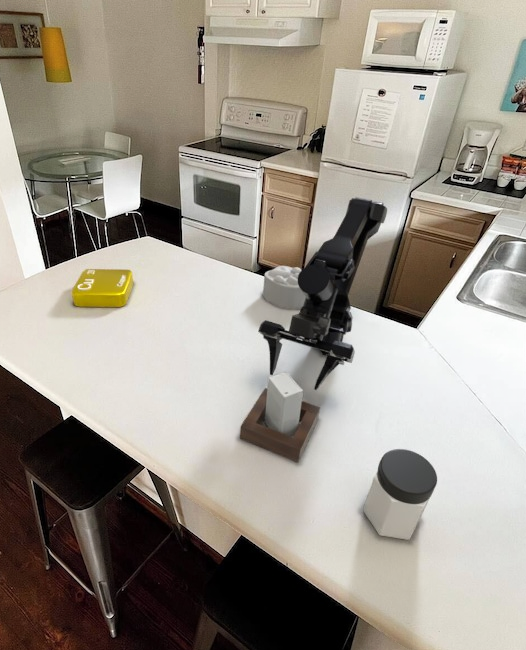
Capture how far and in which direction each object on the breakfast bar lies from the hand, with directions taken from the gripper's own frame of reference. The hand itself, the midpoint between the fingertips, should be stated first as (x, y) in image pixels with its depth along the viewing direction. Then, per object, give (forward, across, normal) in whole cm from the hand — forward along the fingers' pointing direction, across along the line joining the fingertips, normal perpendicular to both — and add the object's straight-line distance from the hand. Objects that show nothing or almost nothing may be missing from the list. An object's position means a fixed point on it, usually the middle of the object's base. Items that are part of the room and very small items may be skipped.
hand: (292, 382), depth 87 cm
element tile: (-8, -65, +20) cm, 68 cm away
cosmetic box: (+10, 0, +2) cm, 10 cm away
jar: (+16, +23, -4) cm, 28 cm away
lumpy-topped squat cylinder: (-23, -16, +36) cm, 46 cm away
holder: (+10, 0, +2) cm, 10 cm away
